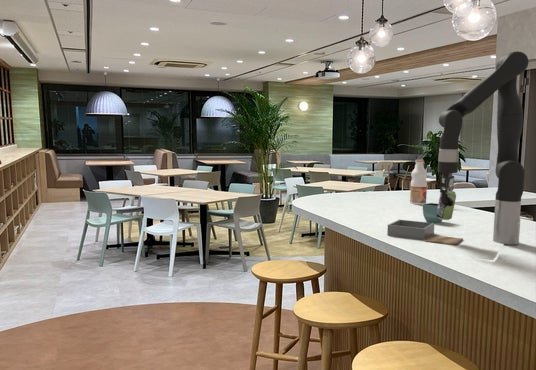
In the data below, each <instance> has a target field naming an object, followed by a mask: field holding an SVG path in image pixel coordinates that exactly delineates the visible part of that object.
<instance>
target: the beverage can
mask: <svg viewBox="0 0 536 370" xmlns="http://www.w3.org/2000/svg"><path fill="white" fill-rule="evenodd" d="M441 195H442V194H441V193H440V194H439V199H438V203H437V204H438V208H437V213H436V216H437V217H438V218H439V219H442V221H443V220H444V221H450V220H451V219H452V218H453V212H454V210H455V209H454V208H455V205H456V204H455V203H456V199H457V194H456V191H454V190H452V191H450V190H448V199H447V203H446V204H445V203H441Z"/></svg>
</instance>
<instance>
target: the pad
mask: <svg viewBox="0 0 536 370" xmlns="http://www.w3.org/2000/svg"><path fill="white" fill-rule="evenodd" d="M463 240H464V238H463V237H462V238H461V237H453V236H444V235H435V234H432V235H431V236H429V237H428V238H426V239H425V241H424V242H426V243H433V244H434V243H435V244H441V245H450V246H458V245H459V244H460V243H461V242H462V241H463Z"/></svg>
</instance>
